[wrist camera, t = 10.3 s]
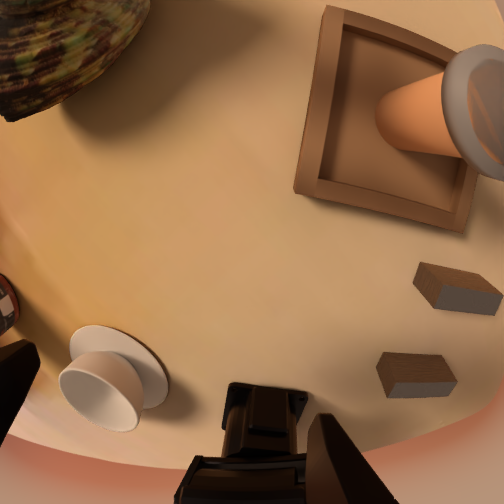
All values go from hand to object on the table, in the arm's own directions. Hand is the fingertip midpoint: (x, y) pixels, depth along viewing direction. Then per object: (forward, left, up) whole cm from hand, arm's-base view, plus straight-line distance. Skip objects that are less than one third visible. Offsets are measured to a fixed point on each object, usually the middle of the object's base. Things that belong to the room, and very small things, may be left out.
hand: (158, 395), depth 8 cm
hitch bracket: (-3, -16, -12) cm, 20 cm away
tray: (+10, -9, -12) cm, 18 cm away
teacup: (-13, +8, -12) cm, 20 cm away
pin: (+10, -9, -11) cm, 18 cm away
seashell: (+14, +11, -12) cm, 22 cm away
